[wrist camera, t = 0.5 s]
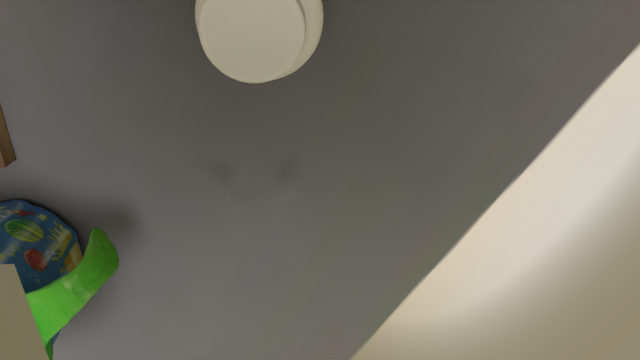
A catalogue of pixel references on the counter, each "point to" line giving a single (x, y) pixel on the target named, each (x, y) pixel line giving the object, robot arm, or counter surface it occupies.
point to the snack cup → (53, 264)
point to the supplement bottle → (259, 36)
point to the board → (5, 144)
